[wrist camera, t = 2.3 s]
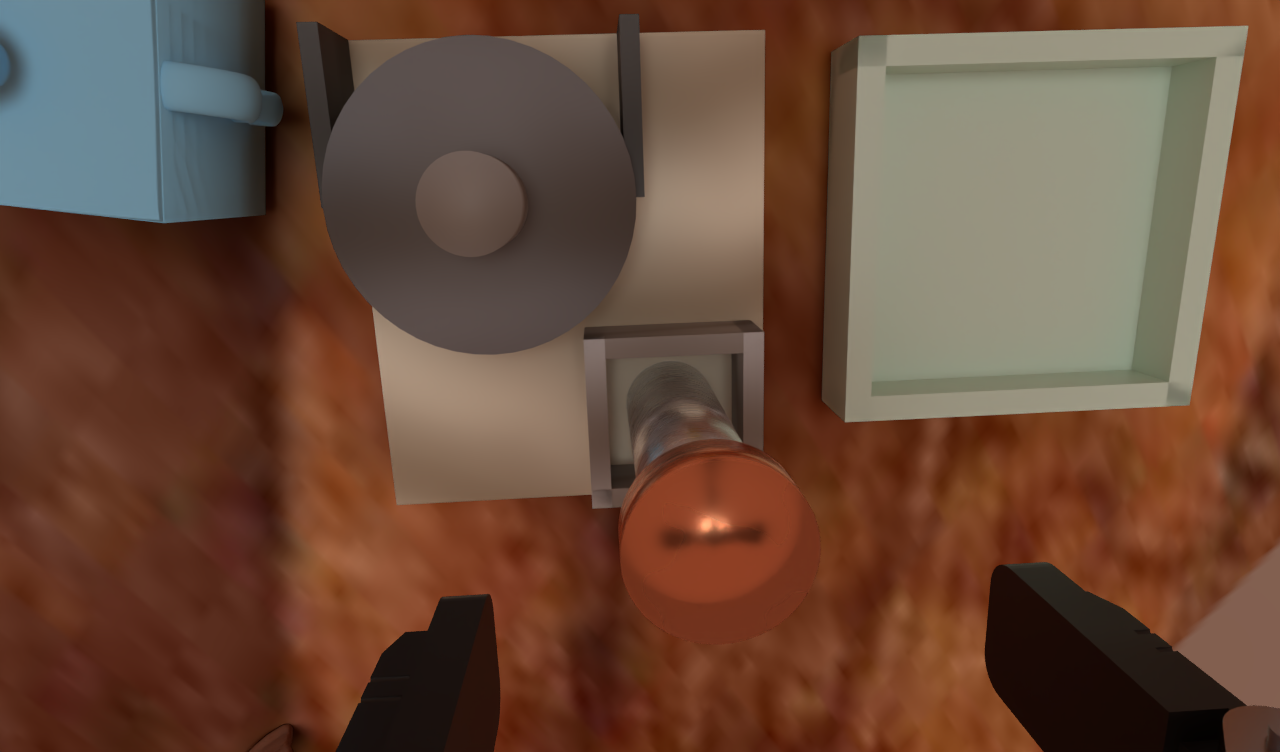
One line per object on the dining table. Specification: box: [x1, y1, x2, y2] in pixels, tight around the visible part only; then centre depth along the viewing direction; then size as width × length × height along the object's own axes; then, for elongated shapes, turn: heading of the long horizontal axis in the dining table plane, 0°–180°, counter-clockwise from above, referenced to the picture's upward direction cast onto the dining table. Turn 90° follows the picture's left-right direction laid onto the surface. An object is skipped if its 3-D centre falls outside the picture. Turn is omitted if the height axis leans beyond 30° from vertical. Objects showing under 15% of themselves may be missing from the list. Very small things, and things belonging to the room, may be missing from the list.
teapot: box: [0, 0, 283, 223], centre depth 19 cm, size 12×6×8 cm, turn 83°
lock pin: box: [619, 361, 821, 644], centre depth 19 cm, size 4×4×10 cm
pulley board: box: [296, 14, 765, 509], centre depth 21 cm, size 14×12×6 cm
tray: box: [822, 26, 1248, 422], centre depth 23 cm, size 11×11×2 cm
